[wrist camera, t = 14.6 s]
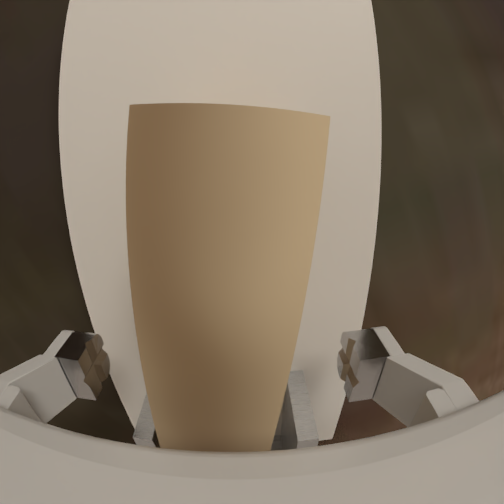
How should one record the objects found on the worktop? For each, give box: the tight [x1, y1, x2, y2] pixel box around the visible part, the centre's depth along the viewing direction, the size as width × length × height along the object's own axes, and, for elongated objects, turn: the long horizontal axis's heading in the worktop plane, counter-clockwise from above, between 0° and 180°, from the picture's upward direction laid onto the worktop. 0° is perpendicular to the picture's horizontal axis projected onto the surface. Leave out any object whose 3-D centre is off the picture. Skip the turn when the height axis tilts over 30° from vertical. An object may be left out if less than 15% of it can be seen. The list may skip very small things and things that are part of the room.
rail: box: [126, 103, 330, 452], centre depth 9 cm, size 4×14×5 cm, turn 175°
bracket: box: [59, 0, 381, 451], centre depth 10 cm, size 12×24×6 cm, turn 1°
